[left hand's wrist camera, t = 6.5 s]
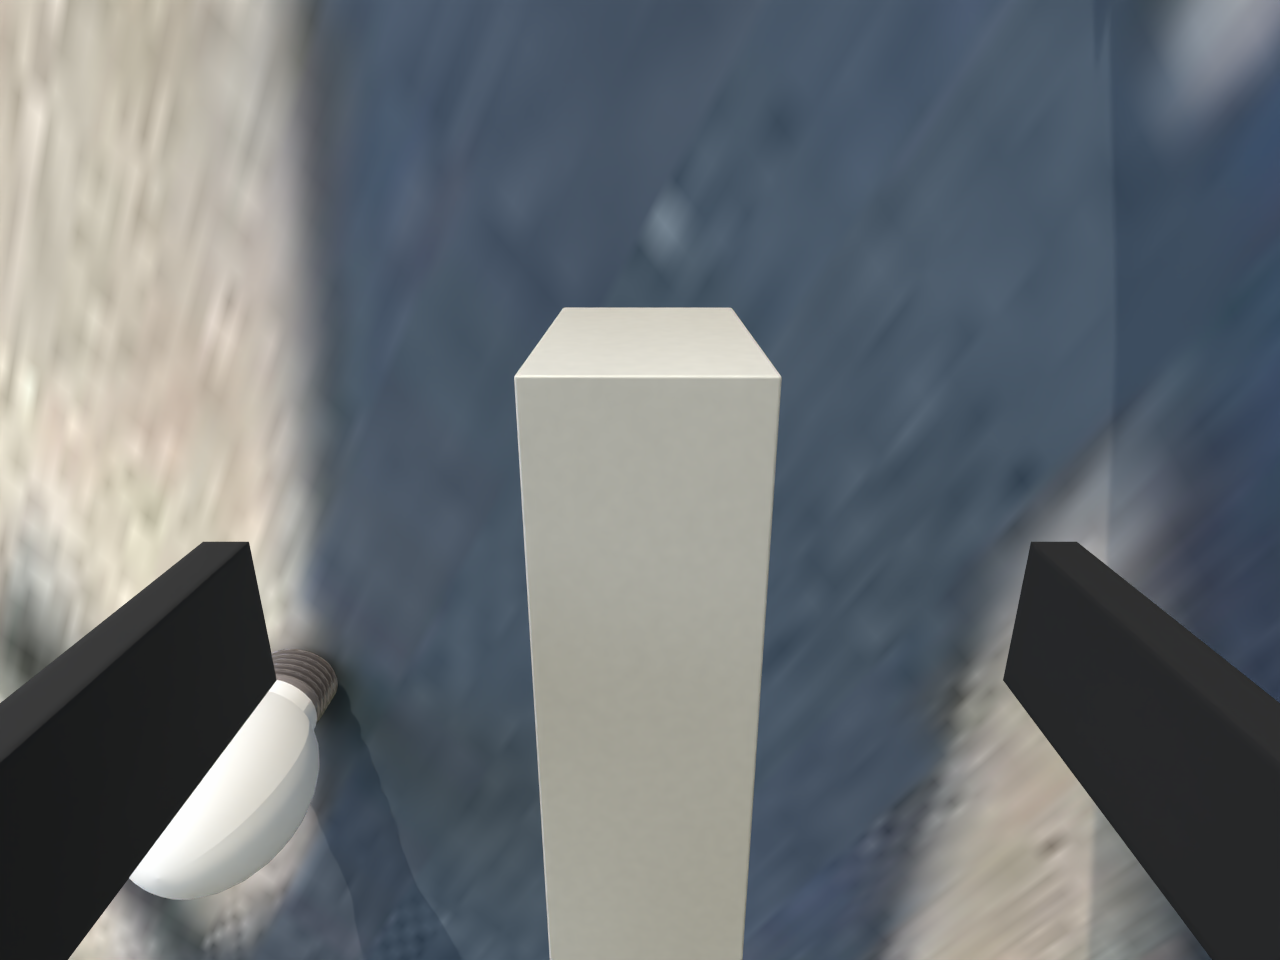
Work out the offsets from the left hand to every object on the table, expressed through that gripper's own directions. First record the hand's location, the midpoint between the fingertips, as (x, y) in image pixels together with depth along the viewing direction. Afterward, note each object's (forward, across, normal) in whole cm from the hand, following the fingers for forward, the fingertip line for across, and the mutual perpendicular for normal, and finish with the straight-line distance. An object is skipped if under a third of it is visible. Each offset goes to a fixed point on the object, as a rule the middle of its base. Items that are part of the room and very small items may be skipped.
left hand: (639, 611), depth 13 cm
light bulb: (+19, -16, -15) cm, 30 cm away
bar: (+10, 0, -14) cm, 17 cm away
